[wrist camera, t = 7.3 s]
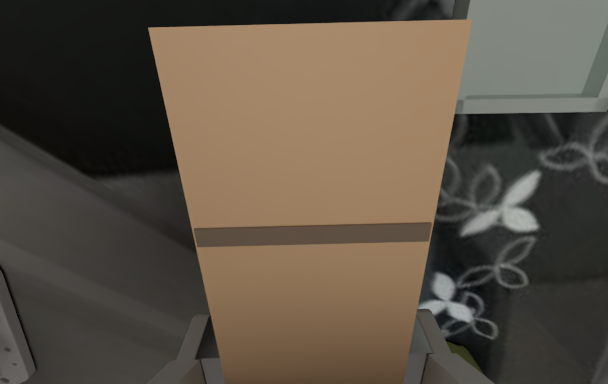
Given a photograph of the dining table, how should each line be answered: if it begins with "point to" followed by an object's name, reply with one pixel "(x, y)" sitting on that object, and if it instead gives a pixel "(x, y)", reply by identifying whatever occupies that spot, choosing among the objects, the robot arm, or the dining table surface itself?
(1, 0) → the dining table surface
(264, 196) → the brown shipping carton
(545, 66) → the tray
